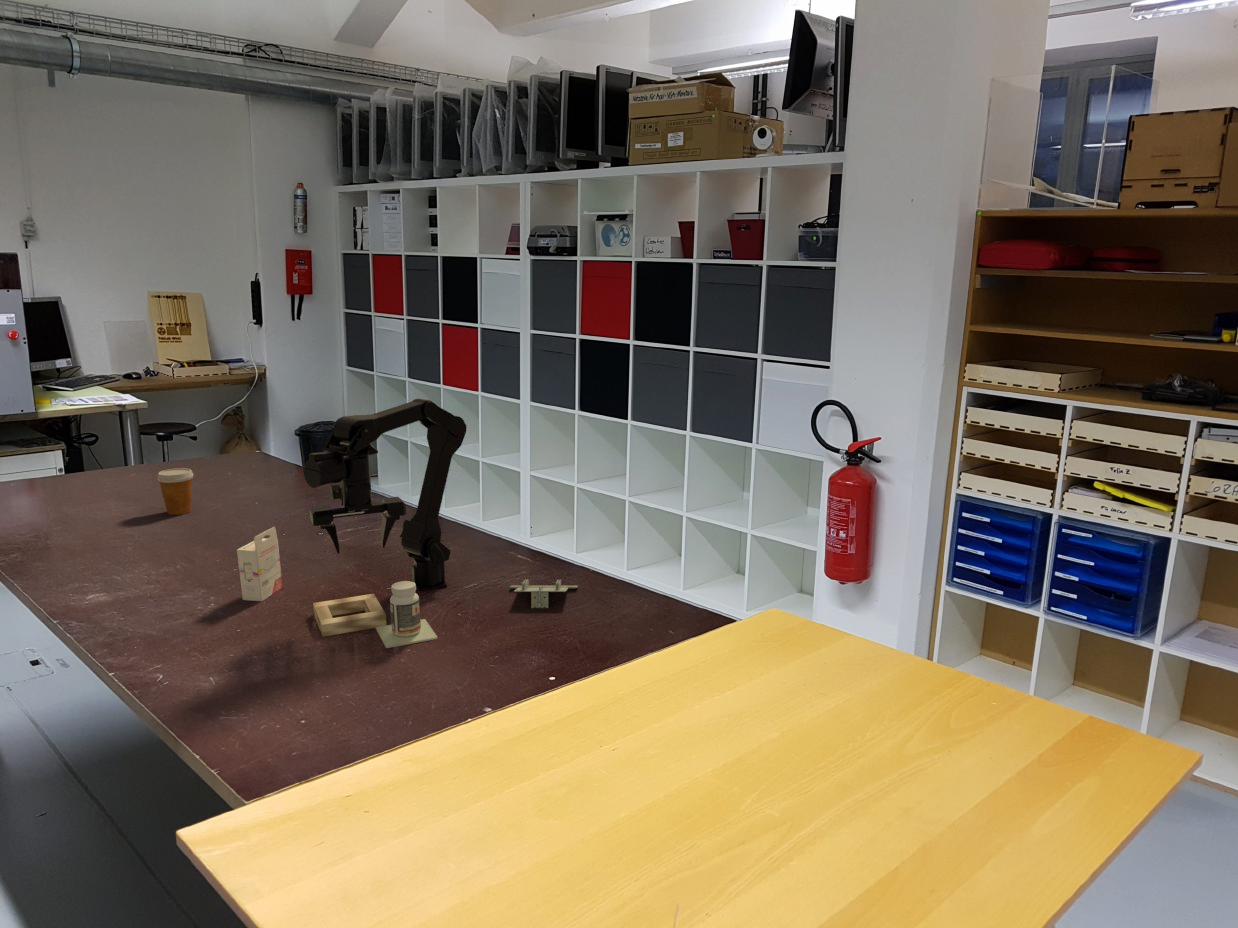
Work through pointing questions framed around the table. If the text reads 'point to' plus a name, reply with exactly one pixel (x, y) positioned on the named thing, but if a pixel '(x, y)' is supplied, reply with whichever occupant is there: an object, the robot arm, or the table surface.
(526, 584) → the metal bracket
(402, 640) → the mat
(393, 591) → the pill bottle
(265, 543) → the ink cartridge box
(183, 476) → the disposable coffee cup
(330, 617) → the pocket holder
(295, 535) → the table surface
